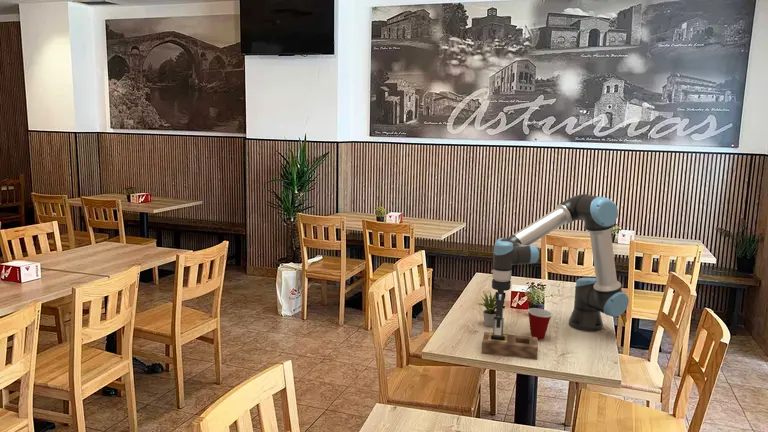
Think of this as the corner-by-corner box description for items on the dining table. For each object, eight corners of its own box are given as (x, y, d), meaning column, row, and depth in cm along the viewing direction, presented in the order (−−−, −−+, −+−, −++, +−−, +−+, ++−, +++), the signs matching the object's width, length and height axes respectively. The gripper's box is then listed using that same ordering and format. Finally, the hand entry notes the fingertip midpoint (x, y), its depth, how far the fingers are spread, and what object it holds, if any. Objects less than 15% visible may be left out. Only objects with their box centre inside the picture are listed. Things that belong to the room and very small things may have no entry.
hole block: (536, 348, 253) (537, 336, 252) (537, 359, 241) (537, 347, 240) (483, 342, 257) (484, 331, 257) (481, 353, 246) (482, 341, 245)
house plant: (506, 332, 271) (508, 297, 268) (475, 329, 273) (477, 294, 271) (506, 322, 285) (508, 288, 282) (476, 319, 287) (478, 286, 285)
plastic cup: (551, 343, 260) (553, 316, 258) (526, 340, 262) (527, 314, 260) (550, 334, 270) (552, 308, 268) (525, 332, 272) (527, 306, 270)
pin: (502, 346, 252) (503, 316, 250) (502, 350, 248) (503, 319, 246) (492, 345, 253) (494, 316, 251) (492, 349, 249) (493, 319, 247)
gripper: (493, 271, 258) (490, 318, 262) (490, 286, 234) (487, 338, 238) (511, 272, 257) (508, 320, 260) (510, 288, 233) (506, 340, 236)
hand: (498, 329), depth 249 cm, fingers open, 13 cm apart
